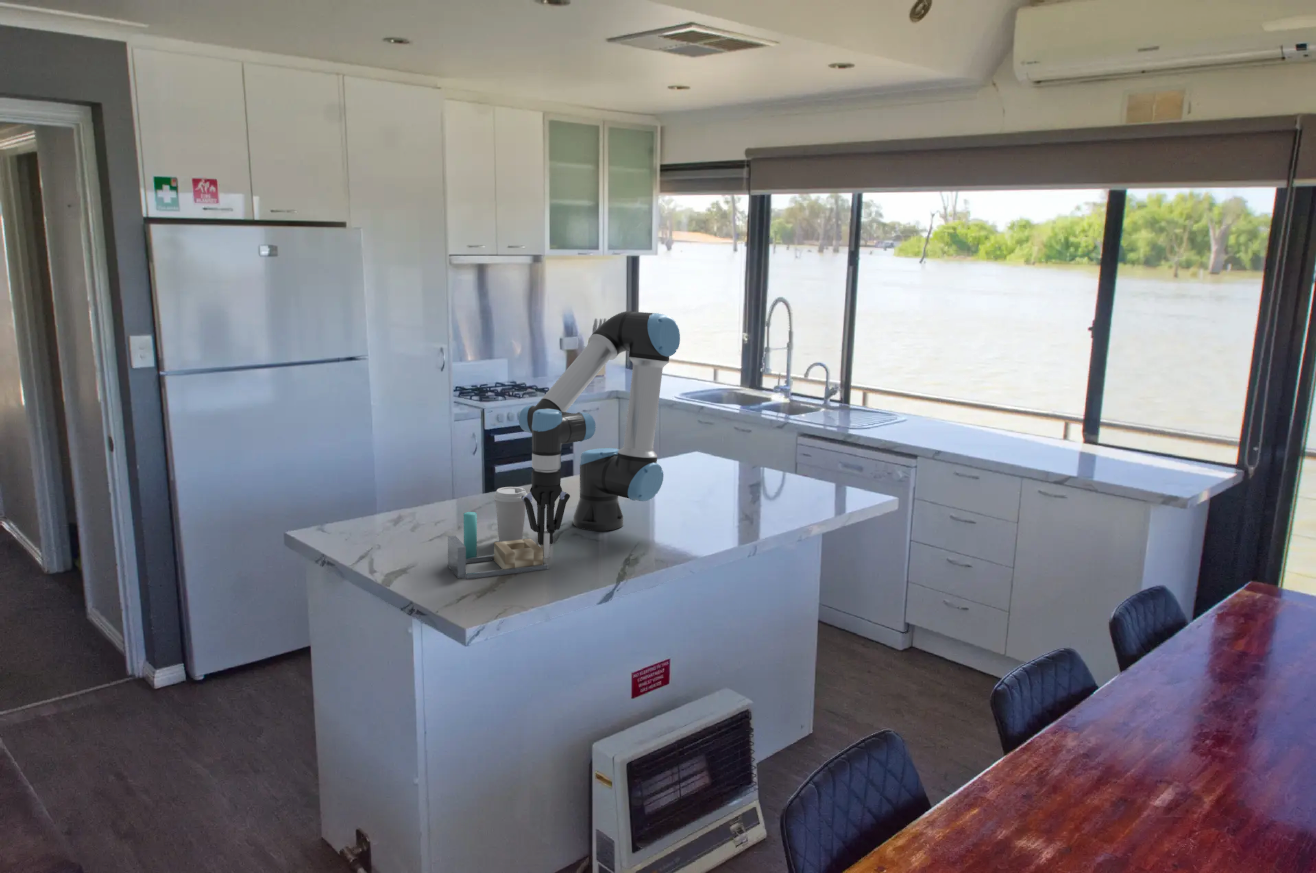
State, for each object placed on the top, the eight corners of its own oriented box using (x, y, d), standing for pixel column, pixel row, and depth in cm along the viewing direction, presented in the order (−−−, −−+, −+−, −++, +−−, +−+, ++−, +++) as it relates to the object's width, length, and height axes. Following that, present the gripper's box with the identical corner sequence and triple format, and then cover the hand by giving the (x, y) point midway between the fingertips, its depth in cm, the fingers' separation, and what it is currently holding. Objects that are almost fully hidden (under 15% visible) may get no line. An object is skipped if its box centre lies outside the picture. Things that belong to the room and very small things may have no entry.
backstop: (532, 554, 251) (532, 526, 249) (547, 569, 240) (548, 539, 238) (446, 564, 240) (446, 535, 239) (459, 580, 230) (458, 549, 228)
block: (530, 556, 249) (530, 538, 248) (542, 567, 240) (542, 549, 239) (494, 560, 245) (494, 542, 244) (505, 572, 236) (505, 553, 235)
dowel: (474, 554, 249) (474, 511, 247) (478, 558, 246) (478, 514, 244) (462, 556, 248) (462, 512, 245) (465, 559, 245) (465, 516, 242)
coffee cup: (521, 548, 256) (521, 496, 253) (488, 545, 257) (488, 493, 254) (532, 538, 265) (533, 487, 262) (500, 535, 267) (501, 485, 264)
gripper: (564, 464, 247) (562, 549, 252) (517, 467, 241) (516, 554, 246) (575, 470, 241) (573, 557, 245) (527, 473, 235) (525, 563, 239)
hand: (544, 555), depth 245 cm, fingers closed
